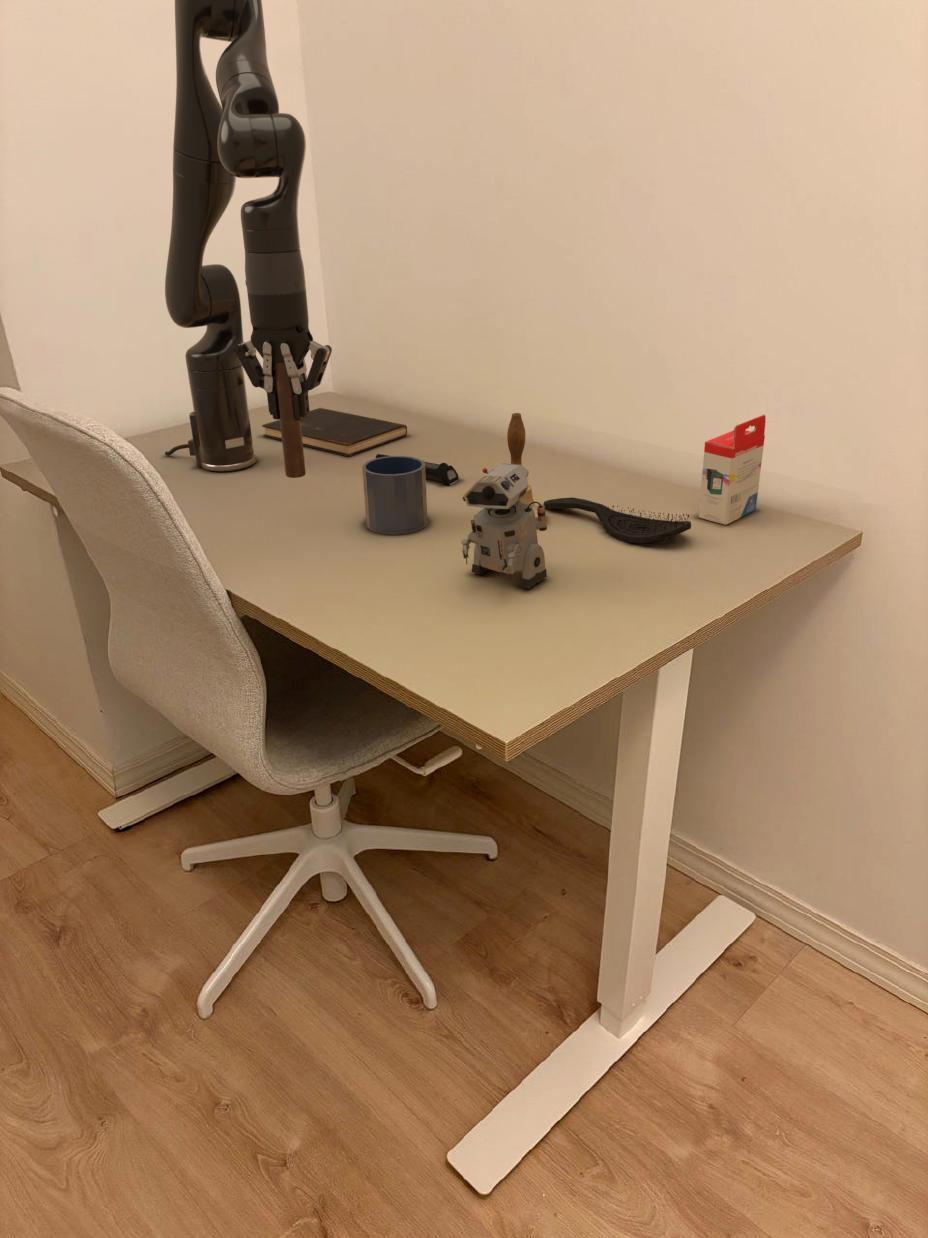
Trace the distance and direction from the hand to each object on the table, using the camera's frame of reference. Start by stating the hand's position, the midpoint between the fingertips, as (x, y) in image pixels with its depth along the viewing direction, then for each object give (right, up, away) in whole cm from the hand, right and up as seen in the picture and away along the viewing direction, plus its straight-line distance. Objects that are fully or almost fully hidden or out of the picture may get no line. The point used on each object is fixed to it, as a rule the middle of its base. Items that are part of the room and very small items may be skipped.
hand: (289, 418), depth 133 cm
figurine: (+29, -23, -9) cm, 38 cm away
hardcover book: (-1, +7, +53) cm, 53 cm away
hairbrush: (+46, -14, +8) cm, 48 cm away
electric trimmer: (+16, -4, +30) cm, 34 cm away
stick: (0, -7, +4) cm, 8 cm away
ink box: (+63, -12, +11) cm, 65 cm away
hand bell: (+32, -13, +11) cm, 36 cm away
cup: (+14, -13, +11) cm, 22 cm away
